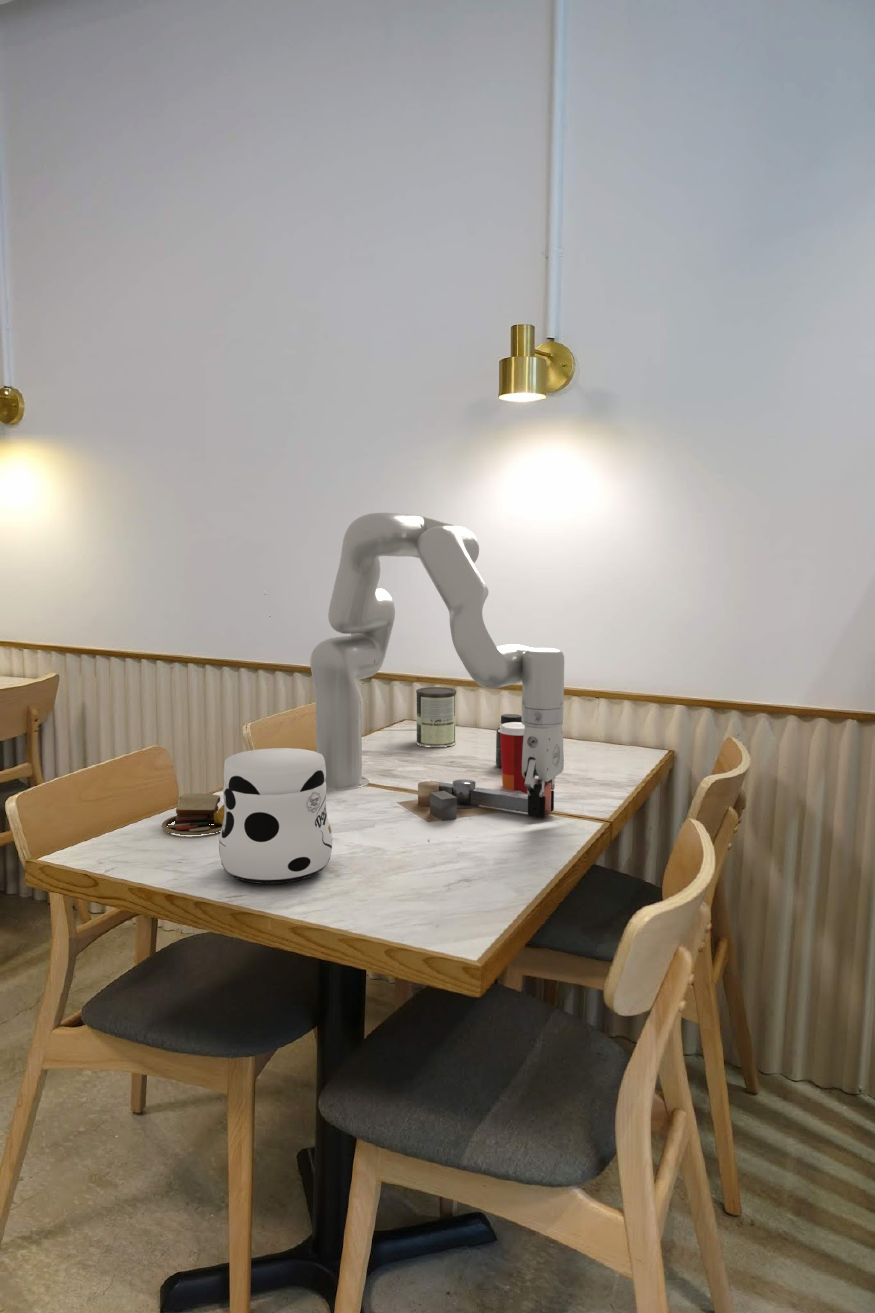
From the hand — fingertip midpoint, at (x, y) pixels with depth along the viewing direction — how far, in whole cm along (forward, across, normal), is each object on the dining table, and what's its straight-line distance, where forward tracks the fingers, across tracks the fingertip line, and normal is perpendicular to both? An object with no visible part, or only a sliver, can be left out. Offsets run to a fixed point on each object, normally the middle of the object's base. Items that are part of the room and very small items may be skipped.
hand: (540, 812), depth 165 cm
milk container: (+2, -43, +27) cm, 51 cm away
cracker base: (+2, -2, +18) cm, 18 cm away
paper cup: (+2, +18, +12) cm, 21 cm away
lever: (0, 0, +11) cm, 11 cm away
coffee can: (+2, +50, +48) cm, 69 cm away
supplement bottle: (+2, +37, +22) cm, 43 cm away
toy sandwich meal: (+2, -32, +54) cm, 63 cm away
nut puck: (+1, -3, +22) cm, 22 cm away
